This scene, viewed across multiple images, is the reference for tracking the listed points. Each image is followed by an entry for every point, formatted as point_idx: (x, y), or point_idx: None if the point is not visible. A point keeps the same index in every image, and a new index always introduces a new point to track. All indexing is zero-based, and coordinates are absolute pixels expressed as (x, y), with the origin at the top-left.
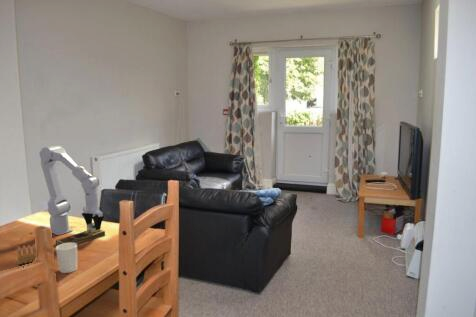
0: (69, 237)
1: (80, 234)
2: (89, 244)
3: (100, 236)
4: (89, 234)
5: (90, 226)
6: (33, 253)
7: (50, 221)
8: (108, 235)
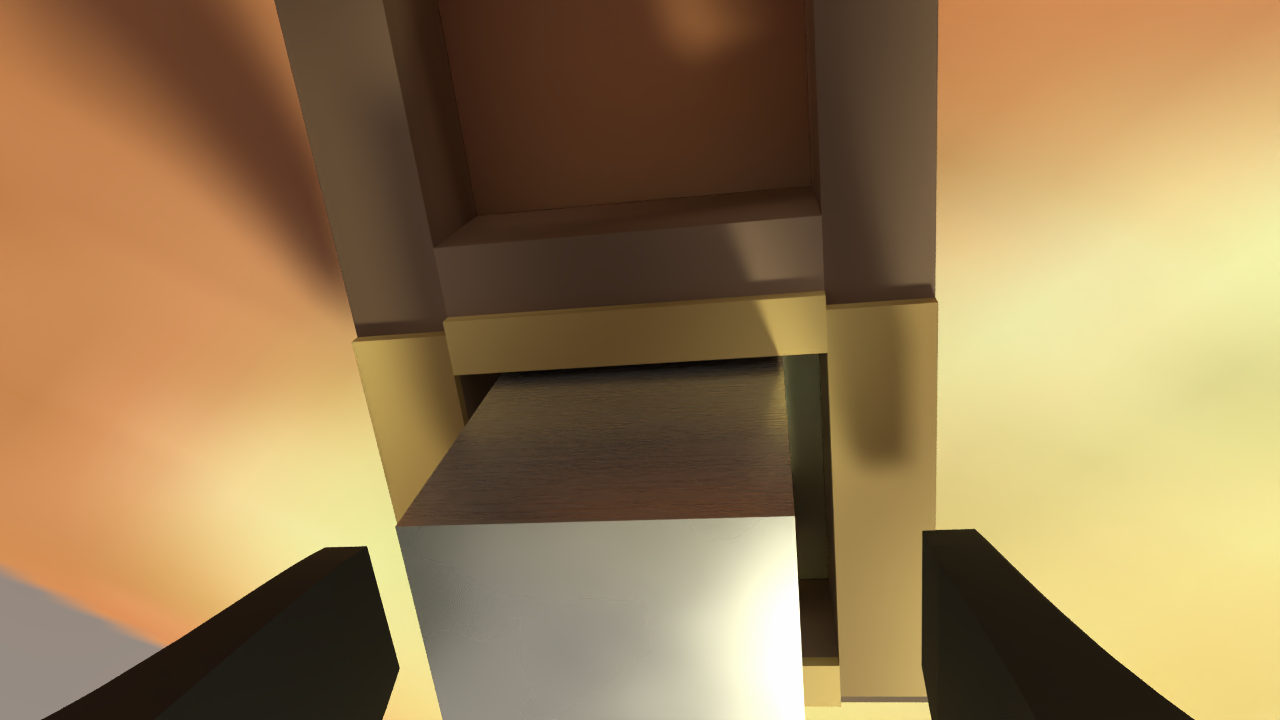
0: None
1: (818, 102)
2: (68, 33)
3: None
4: (504, 304)
5: (464, 512)
6: None
7: None
8: (423, 663)
